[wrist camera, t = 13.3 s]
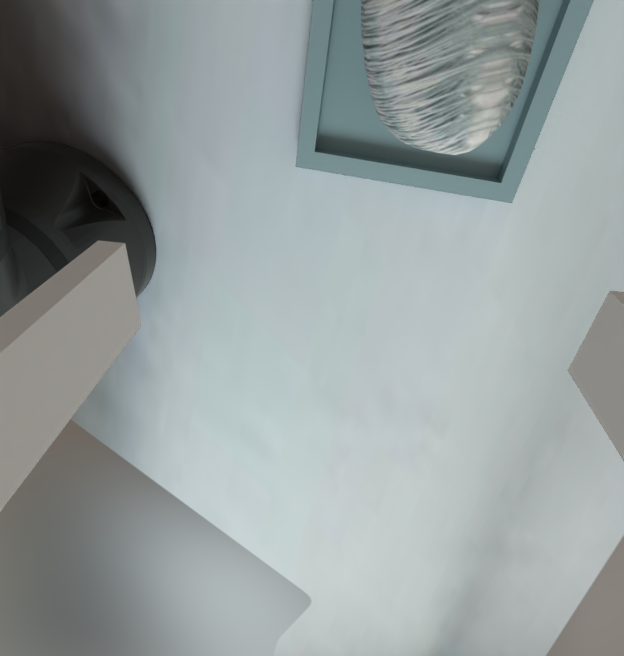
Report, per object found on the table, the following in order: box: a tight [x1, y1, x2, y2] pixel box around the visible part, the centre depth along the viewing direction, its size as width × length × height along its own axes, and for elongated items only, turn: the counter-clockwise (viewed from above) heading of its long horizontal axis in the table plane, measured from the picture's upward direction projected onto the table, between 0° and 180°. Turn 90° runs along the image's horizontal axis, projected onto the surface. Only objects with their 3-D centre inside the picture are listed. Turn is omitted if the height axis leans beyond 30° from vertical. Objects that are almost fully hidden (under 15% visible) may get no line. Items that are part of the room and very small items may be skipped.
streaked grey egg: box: [361, 0, 539, 155], centre depth 23 cm, size 14×10×10 cm
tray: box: [296, 0, 593, 203], centre depth 26 cm, size 15×19×2 cm
